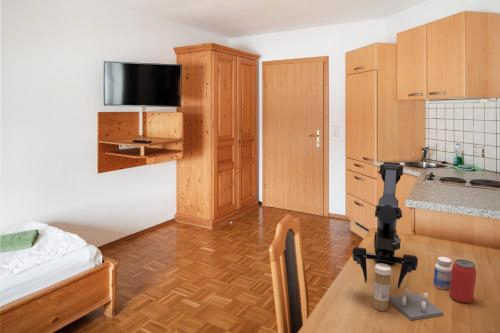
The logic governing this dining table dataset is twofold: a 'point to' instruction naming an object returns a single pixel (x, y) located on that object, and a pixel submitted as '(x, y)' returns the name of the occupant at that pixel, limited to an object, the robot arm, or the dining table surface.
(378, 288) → the sprinkles bottle
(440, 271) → the pill bottle
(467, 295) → the beer can
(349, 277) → the dining table surface
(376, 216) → the robot arm
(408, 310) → the pin tray
